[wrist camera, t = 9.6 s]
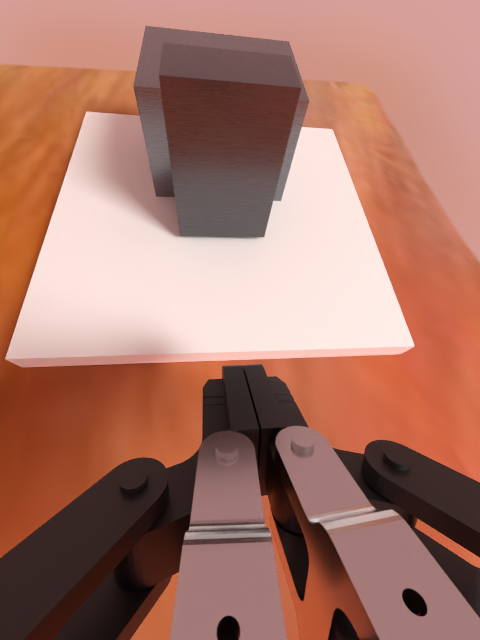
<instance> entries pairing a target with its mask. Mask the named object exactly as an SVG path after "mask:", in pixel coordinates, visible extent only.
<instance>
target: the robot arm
mask: <svg viewBox="0 0 480 640" xmlns="http://www.w3.org/2000/svg"><path fill="white" fill-rule="evenodd" d="M263 495H268V498H269V502H270V526H271V529H272V533H273V536H274V539H275V543H276V546H277V549H278V553H279V556H280V559H281V563H282V566H283V570H284V573H285V576H286V580H287V583H288V586H289V590H290V593H291V596H292V600H293V603H294V607H295V611H296V615H297V621H298V629H299V638H300V640H480V568H477V567H475V566H473V565H471V564H470V563H468V562H467V561H465V560H464V559H462V558H461V557H459V556H458V555H456V554H454V553H453V552H451V551H450V550H448V549H447V548H445V547H444V546H442V545H441V544H439V543H438V542H436V541H435V540H433V539H432V538H430V537H428V536H427V535H425V534H424V533H422V532H421V531H419V530H418V529H416V528H415V525H416V522H417V519H420V520H421V521H423V522H424V523H426V524H428V525H429V526H431V527H432V528H434V529H435V530H437V531H439V532H440V533H442V534H443V535H445V536H447V537H448V538H450V539H451V540H453V541H454V542H456V543H458V544H459V545H461V546H462V547H464V548H466V549H467V550H469V551H470V552H472V553H474V554H475V555H477V556H478V557H480V483H479V482H477V481H475V480H473V479H471V478H469V477H467V476H465V475H463V474H461V473H459V472H457V471H455V470H453V469H451V468H449V467H447V466H444V465H442V464H440V463H438V462H436V461H434V460H432V459H430V458H428V457H426V456H424V455H422V454H420V453H418V452H416V451H414V450H412V449H410V448H408V447H406V446H403V445H401V444H399V443H396V442H392V441H387V440H376V441H372V442H370V443H369V444H368V445H367V446H366V448H365V452H364V454H360V453H354V452H348V451H343V450H338V449H335V448H332V447H331V445H330V444H329V442H328V441H327V440H326V438H325V437H324V436H323V435H321V434H320V433H319V432H317V431H315V430H313V429H311V428H309V427H308V425H307V423H306V422H305V420H304V418H303V416H302V414H301V412H300V410H299V408H298V406H297V404H296V403H295V402H294V399H293V397H292V395H291V394H290V391H289V389H288V387H287V385H286V384H285V383H284V382H283V381H282V380H280V379H279V378H278V377H267V375H266V372H265V370H264V368H263V365H262V364H254V365H229V366H222V379H210V380H208V381H207V383H206V384H205V386H204V387H203V437H202V443H201V446H200V448H199V450H198V451H197V452H196V453H195V454H194V455H193V456H192V457H191V458H189V459H188V460H186V461H184V462H182V463H180V464H177V465H174V466H172V467H169V468H165V466H164V465H163V464H162V463H161V462H159V461H158V460H155V459H152V458H136V459H132V460H129V461H126V462H124V463H122V464H120V465H119V466H117V467H116V468H114V469H113V470H112V471H110V472H109V473H108V474H107V475H105V476H104V477H103V478H102V479H100V480H99V481H98V482H97V483H95V484H94V485H93V486H91V487H90V488H89V489H88V490H86V491H85V492H84V493H83V494H81V495H80V496H79V497H78V498H76V499H75V500H74V501H72V502H71V503H70V504H69V505H67V506H66V507H65V508H64V509H62V510H61V511H60V512H58V513H57V514H56V515H55V516H53V517H52V518H51V519H50V520H48V521H47V522H46V523H45V524H43V525H42V526H41V527H39V528H38V529H37V530H36V531H34V532H33V533H32V534H31V535H29V536H28V537H27V538H26V539H24V540H23V541H22V542H20V543H19V544H18V545H17V546H15V547H14V548H13V549H12V550H10V551H9V552H8V553H7V554H5V555H4V556H3V557H1V558H0V640H130V639H131V637H132V636H133V635H134V633H135V632H136V630H137V629H138V627H139V626H140V624H141V623H142V622H143V620H144V619H145V617H146V616H147V614H148V613H149V612H150V610H151V609H152V607H153V606H154V604H155V603H156V601H157V600H158V599H159V597H160V596H161V594H162V593H163V591H164V590H165V588H166V587H167V585H168V584H169V582H170V580H171V577H172V575H174V574H176V573H178V572H179V576H178V583H177V590H176V597H175V605H174V612H173V619H172V627H171V634H170V640H287V637H286V631H285V624H284V617H283V610H282V604H281V597H280V590H279V583H278V577H277V570H276V563H275V556H274V550H273V543H272V538H271V534H270V530H269V528H266V527H265V522H264V515H263V507H262V500H261V496H263Z"/></svg>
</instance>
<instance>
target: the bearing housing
mask: <svg viewBox="0 0 480 640" xmlns="http://www.w3.org/2000/svg"><path fill="white" fill-rule="evenodd" d="M163 43H172V44H182V45H191V46H201V47H211V48H220V49H230V50H240V51H249V52H259V53H269V54H278V55H288V56H291V58H292V61H293V64H294V67H295V70H296V73H297V76H298V79H299V82H300V85H301V92H300V96H299V100H298V104H297V108H296V112H295V116H294V120H293V124H292V128H291V132H290V136H289V140H288V144H287V148H286V152H285V156H284V160H283V164H282V168H281V172H280V176H279V180H278V184H277V188H276V192H275V196H274V200H273V201H281V199H282V196H283V192H284V189H285V185H286V181H287V178H288V174H289V171H290V167H291V163H292V160H293V156H294V153H295V149H296V146H297V142H298V138H299V135H300V131H301V128H302V124H303V121H304V117H305V113H306V110H307V106H308V103H309V99H308V96H307V93H306V90H305V88H304V85H303V82H302V79H301V76H300V73H299V70H298V67H297V64H296V61H295V58H294V55H293V53H292V49H291V46H290V44H289V42H287V41H277V40H269V39H260V38H251V37H242V36H233V35H224V34H215V33H206V32H196V31H187V30H178V29H169V28H160V27H150V26H146V28H145V33H144V37H143V42H142V47H141V52H140V57H139V62H138V67H137V72H136V77H135V82H134V91H135V96H136V101H137V105H138V110H139V115H140V120H141V125H142V130H143V135H144V140H145V145H146V150H147V155H148V160H149V165H150V169H151V174H152V179H153V184H154V189H155V194H156V197H175V195H174V187H173V180H172V172H171V164H170V157H169V149H168V141H167V134H166V126H165V119H164V111H163V103H162V96H161V88H160V81H159V69H160V62H161V54H162V46H163Z"/></svg>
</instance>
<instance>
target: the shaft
mask: <svg viewBox="0 0 480 640" xmlns="http://www.w3.org/2000/svg"><path fill="white" fill-rule="evenodd" d="M159 81H160V88H161V96H162V103H163V111H164V119H165V126H166V134H167V141H168V149H169V157H170V164H171V172H172V180H173V187H174V195H175V202H176V210H177V218H178V225H179V233H180V236H217V237H264V236H265V232H266V228H267V224H268V220H269V216H270V212H271V208H272V204H273V200H274V196H275V192H276V188H277V184H278V180H279V176H280V172H281V168H282V164H283V160H284V156H285V152H286V148H287V144H288V140H289V136H290V132H291V128H292V124H293V120H294V116H295V112H296V108H297V104H298V100H299V96H300V92H301V85H300V82H299V79H298V76H297V73H296V70H295V67H294V64H293V61H292V58H291V56H288V55H278V54H269V53H259V52H249V51H240V50H230V49H220V48H211V47H201V46H191V45H182V44H172V43H163V46H162V54H161V62H160V69H159Z"/></svg>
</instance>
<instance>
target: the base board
mask: <svg viewBox="0 0 480 640" xmlns="http://www.w3.org/2000/svg"><path fill="white" fill-rule="evenodd" d="M413 347H414V343H413V340H412V338H411V335H410V332H409V330H408V327H407V325H406V322H405V319H404V317H403V314H402V311H401V309H400V306H399V303H398V301H397V298H396V296H395V293H394V290H393V288H392V285H391V282H390V280H389V277H388V275H387V272H386V269H385V267H384V264H383V261H382V259H381V256H380V253H379V251H378V248H377V246H376V243H375V240H374V238H373V235H372V232H371V230H370V227H369V224H368V222H367V219H366V217H365V214H364V211H363V209H362V206H361V203H360V201H359V198H358V195H357V193H356V190H355V188H354V185H353V182H352V180H351V177H350V174H349V172H348V169H347V166H346V164H345V161H344V159H343V156H342V153H341V151H340V148H339V145H338V143H337V140H336V138H335V135H334V132H333V130H332V129H322V128H308V127H302V128H301V131H300V135H299V138H298V142H297V146H296V149H295V153H294V156H293V160H292V163H291V167H290V171H289V174H288V178H287V181H286V185H285V189H284V192H283V196H282V199H281V201H273V204H272V208H271V212H270V216H269V220H268V224H267V228H266V232H265V236H264V237H217V236H180V233H179V225H178V218H177V210H176V202H175V197H156V194H155V189H154V184H153V179H152V174H151V169H150V165H149V160H148V155H147V150H146V145H145V140H144V135H143V130H142V125H141V120H140V116H139V115H125V114H111V113H97V112H86V114H85V117H84V120H83V123H82V126H81V129H80V132H79V136H78V139H77V142H76V145H75V148H74V151H73V154H72V157H71V160H70V163H69V166H68V169H67V172H66V175H65V178H64V181H63V184H62V187H61V190H60V193H59V196H58V199H57V203H56V206H55V209H54V212H53V215H52V218H51V221H50V224H49V227H48V230H47V233H46V236H45V239H44V242H43V245H42V248H41V251H40V254H39V257H38V260H37V263H36V266H35V269H34V273H33V276H32V279H31V282H30V285H29V288H28V291H27V294H26V297H25V300H24V303H23V306H22V309H21V312H20V315H19V318H18V321H17V324H16V327H15V330H14V333H13V336H12V340H11V343H10V346H9V349H8V352H7V355H6V358H5V359H6V360H8V361H10V362H12V363H14V364H16V365H18V366H20V367H49V366H78V365H107V364H135V363H164V362H192V361H221V360H250V359H278V358H307V357H335V356H364V355H392V354H402V353H403V352H405V351H407V350H409V349H411V348H413Z"/></svg>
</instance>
